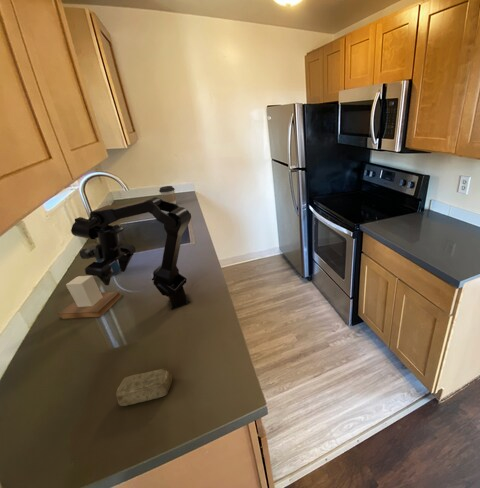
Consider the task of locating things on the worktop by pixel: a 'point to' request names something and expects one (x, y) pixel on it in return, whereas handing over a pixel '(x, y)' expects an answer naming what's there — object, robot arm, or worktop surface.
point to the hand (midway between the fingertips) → (115, 278)
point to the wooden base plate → (91, 307)
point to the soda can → (112, 266)
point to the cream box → (84, 291)
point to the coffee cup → (168, 194)
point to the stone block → (144, 387)
